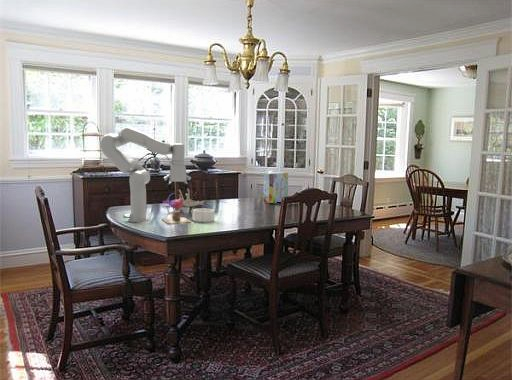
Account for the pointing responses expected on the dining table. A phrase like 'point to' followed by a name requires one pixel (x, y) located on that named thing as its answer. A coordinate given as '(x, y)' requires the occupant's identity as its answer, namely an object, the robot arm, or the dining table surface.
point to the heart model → (174, 204)
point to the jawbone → (188, 201)
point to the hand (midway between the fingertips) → (177, 190)
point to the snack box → (275, 186)
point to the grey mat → (175, 224)
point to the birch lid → (176, 219)
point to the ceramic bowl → (203, 215)
